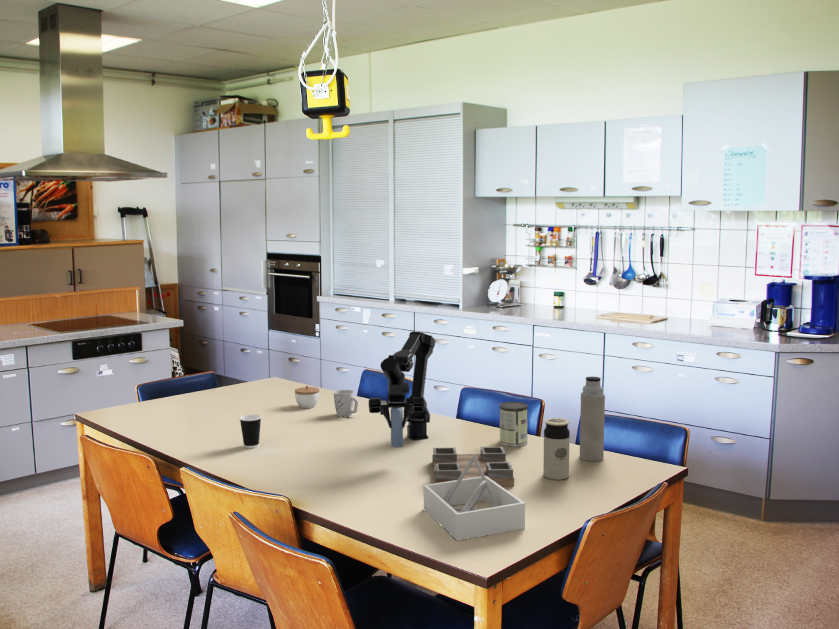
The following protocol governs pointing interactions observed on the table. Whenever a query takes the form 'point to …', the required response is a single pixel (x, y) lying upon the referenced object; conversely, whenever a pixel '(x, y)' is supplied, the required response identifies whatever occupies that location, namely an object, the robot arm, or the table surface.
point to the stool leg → (396, 427)
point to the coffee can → (513, 423)
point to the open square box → (475, 521)
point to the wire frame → (478, 490)
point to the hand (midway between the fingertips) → (396, 427)
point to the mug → (345, 402)
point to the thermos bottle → (592, 420)
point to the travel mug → (556, 449)
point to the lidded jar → (307, 396)
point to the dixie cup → (250, 430)
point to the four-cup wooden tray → (490, 461)
